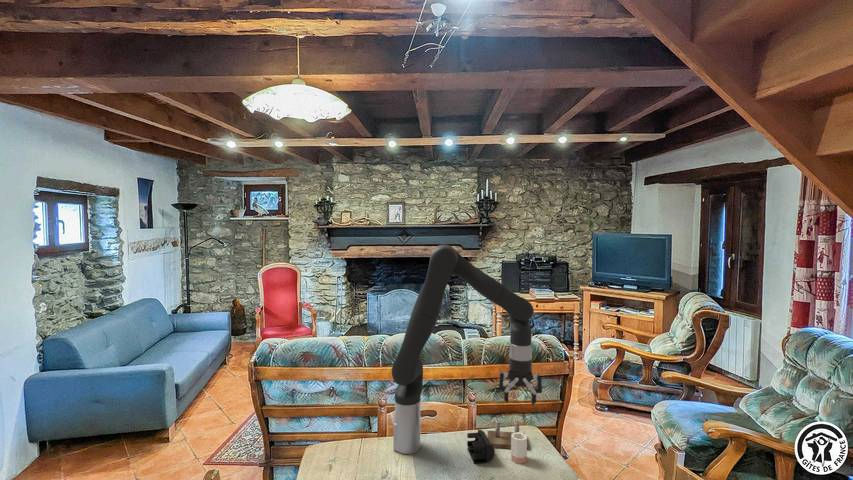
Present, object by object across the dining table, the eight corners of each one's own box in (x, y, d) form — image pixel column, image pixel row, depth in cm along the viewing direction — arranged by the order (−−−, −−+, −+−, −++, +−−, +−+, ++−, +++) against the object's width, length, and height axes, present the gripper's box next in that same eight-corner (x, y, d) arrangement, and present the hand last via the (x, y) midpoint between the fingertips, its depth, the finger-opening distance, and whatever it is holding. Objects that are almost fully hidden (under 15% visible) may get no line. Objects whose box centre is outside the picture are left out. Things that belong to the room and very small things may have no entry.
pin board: (488, 447, 141) (488, 427, 141) (487, 434, 150) (487, 415, 150) (528, 450, 139) (528, 430, 139) (524, 436, 148) (525, 417, 148)
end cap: (495, 463, 132) (495, 443, 131) (474, 465, 131) (474, 445, 130) (485, 447, 142) (486, 428, 141) (466, 448, 140) (467, 430, 140)
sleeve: (512, 463, 132) (512, 439, 131) (510, 454, 137) (510, 431, 136) (527, 464, 131) (527, 440, 131) (525, 455, 136) (525, 432, 136)
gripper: (499, 358, 132) (499, 406, 132) (543, 361, 129) (542, 409, 130) (499, 351, 139) (498, 397, 139) (540, 354, 137) (539, 399, 137)
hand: (519, 403), depth 135 cm, fingers open, 8 cm apart
